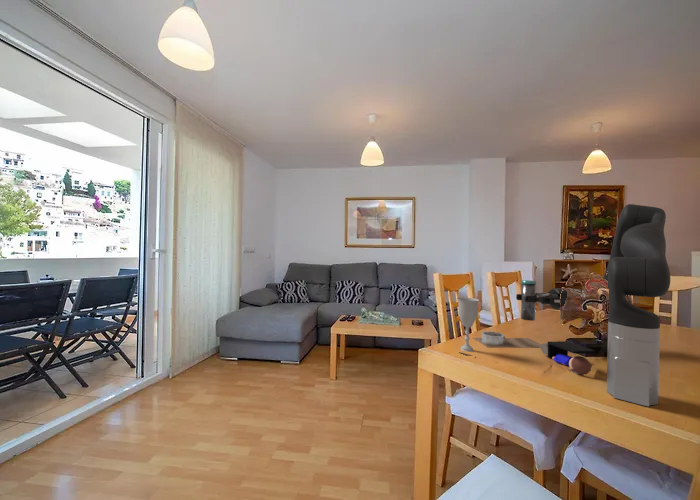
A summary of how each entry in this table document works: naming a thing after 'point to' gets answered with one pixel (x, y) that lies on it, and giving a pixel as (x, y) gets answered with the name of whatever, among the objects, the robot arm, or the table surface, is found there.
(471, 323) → the chalice
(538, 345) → the grey flat rectangular plate
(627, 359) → the robot arm
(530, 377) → the table surface
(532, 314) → the dark jar with lid
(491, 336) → the collar
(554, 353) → the figurine character
